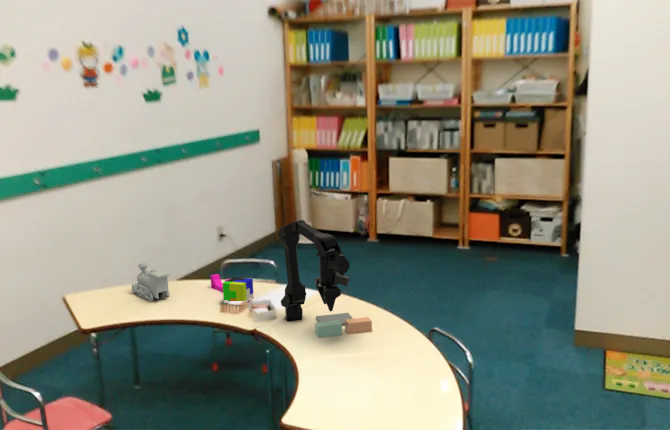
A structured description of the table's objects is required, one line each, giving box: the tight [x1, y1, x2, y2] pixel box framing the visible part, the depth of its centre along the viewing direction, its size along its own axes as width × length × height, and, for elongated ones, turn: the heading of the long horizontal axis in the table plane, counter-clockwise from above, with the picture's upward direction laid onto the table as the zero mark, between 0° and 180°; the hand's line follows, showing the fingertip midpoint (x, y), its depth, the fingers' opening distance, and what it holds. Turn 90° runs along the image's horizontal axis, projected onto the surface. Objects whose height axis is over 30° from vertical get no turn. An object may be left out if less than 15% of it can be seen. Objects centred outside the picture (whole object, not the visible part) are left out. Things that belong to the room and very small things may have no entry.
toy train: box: [131, 262, 170, 303], centre depth 298 cm, size 11×28×15 cm, turn 42°
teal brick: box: [314, 320, 343, 338], centre depth 244 cm, size 10×5×4 cm, turn 104°
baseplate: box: [315, 312, 354, 327], centre depth 258 cm, size 14×12×1 cm
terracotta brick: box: [344, 316, 373, 335], centre depth 247 cm, size 10×5×4 cm, turn 104°
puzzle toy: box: [222, 276, 255, 301], centre depth 286 cm, size 10×10×10 cm
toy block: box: [210, 273, 230, 293], centre depth 304 cm, size 15×6×8 cm, turn 44°
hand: (328, 307), depth 243 cm, fingers open, 9 cm apart
